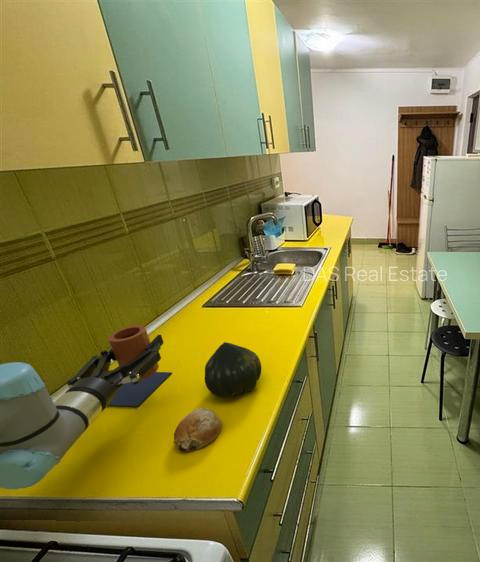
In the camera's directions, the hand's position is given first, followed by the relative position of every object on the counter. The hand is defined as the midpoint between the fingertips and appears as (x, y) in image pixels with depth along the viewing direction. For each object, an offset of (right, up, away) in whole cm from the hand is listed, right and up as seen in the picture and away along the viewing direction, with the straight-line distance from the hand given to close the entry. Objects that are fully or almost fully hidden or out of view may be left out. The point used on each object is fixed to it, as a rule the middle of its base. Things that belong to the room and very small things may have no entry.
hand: (144, 340), depth 82 cm
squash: (+21, -16, +9) cm, 28 cm away
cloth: (-12, -16, +9) cm, 22 cm away
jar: (+1, -8, -2) cm, 8 cm away
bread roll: (+19, -22, -7) cm, 30 cm away
